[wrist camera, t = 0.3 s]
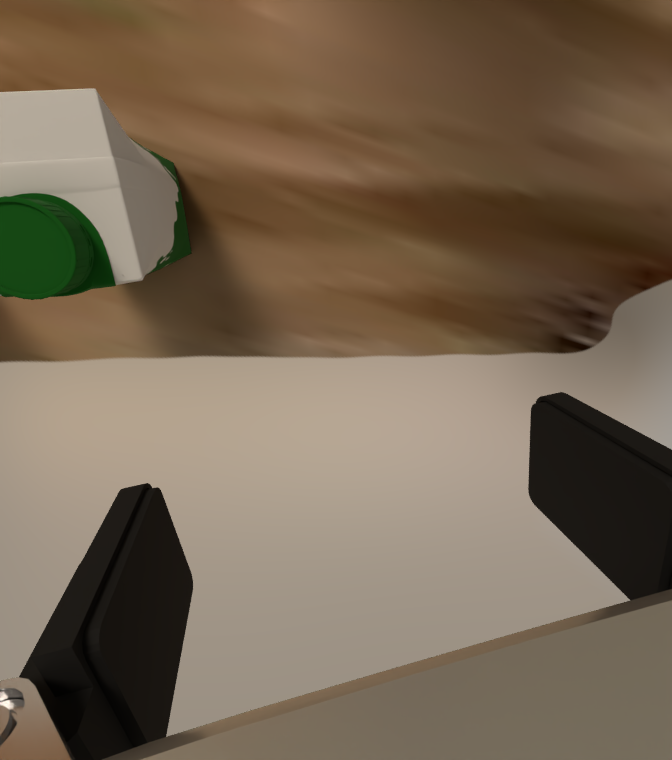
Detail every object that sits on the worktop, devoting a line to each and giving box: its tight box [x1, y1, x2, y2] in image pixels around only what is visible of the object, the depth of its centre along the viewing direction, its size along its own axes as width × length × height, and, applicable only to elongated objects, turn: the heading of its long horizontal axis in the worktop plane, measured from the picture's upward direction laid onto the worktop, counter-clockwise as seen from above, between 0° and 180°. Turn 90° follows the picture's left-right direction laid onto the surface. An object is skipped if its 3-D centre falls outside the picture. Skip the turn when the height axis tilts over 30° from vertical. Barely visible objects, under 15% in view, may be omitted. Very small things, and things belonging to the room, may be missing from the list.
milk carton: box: [0, 89, 191, 300], centre depth 25 cm, size 9×9×20 cm
